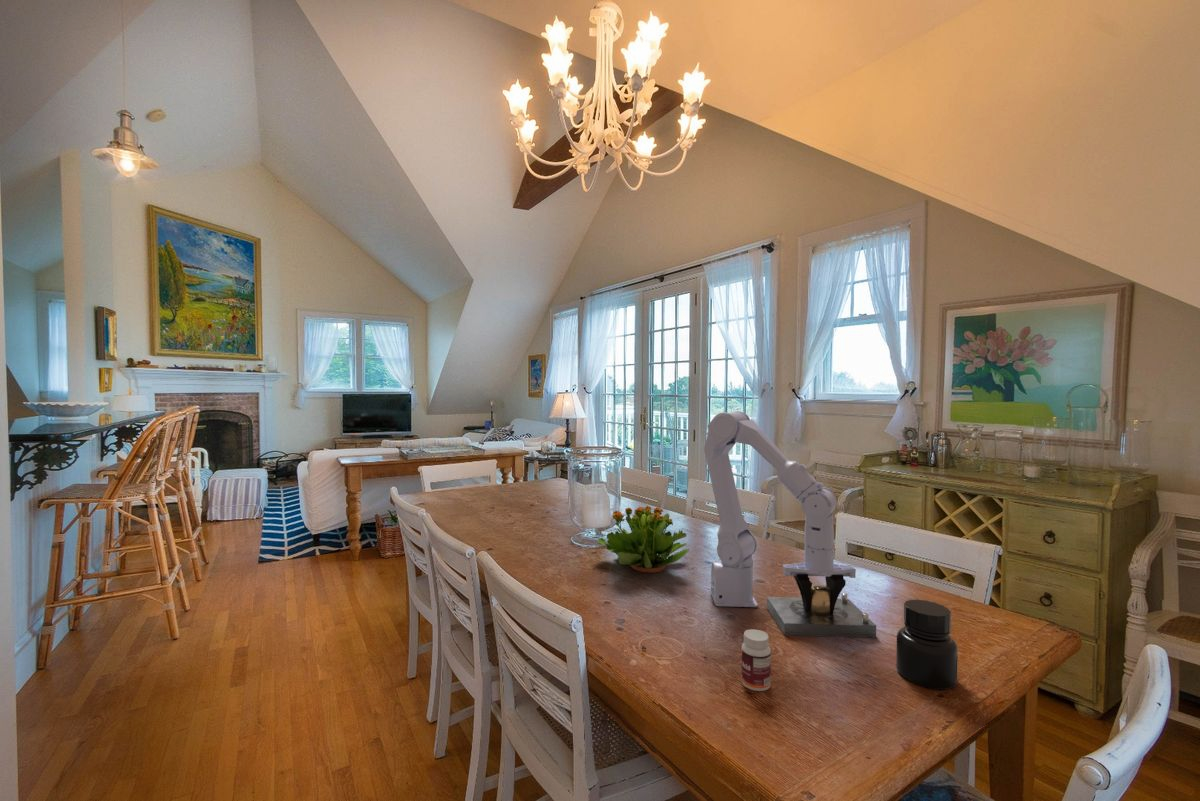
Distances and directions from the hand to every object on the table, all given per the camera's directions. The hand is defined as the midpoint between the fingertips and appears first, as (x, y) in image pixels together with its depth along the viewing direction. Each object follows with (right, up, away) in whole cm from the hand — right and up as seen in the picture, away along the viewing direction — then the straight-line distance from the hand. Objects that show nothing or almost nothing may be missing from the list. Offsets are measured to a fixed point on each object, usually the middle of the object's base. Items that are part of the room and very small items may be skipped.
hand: (818, 609), depth 109 cm
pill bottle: (-20, -3, -23) cm, 31 cm away
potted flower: (-32, -2, +33) cm, 46 cm away
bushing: (0, -2, 0) cm, 2 cm away
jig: (0, -3, 0) cm, 3 cm away
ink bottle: (+10, -3, -20) cm, 23 cm away
